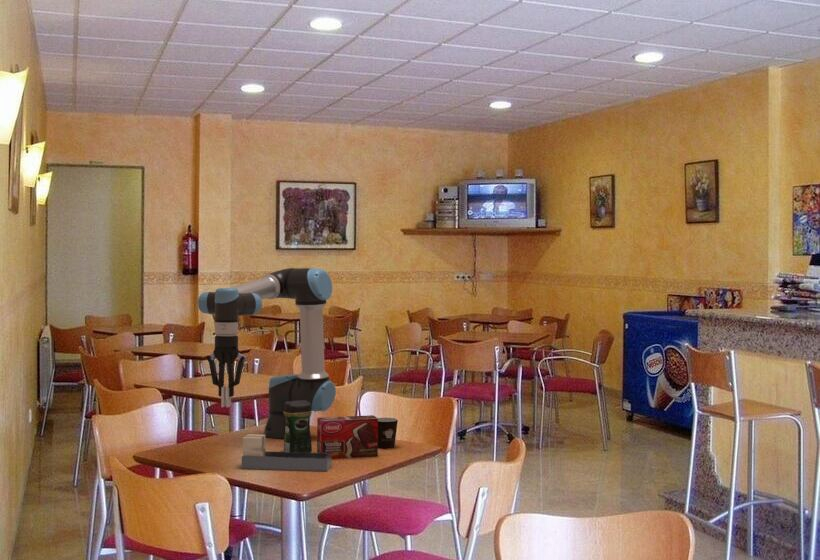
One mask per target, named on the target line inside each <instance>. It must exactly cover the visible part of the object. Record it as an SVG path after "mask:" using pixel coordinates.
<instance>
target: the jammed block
mask: <svg viewBox="0 0 820 560" xmlns="http://www.w3.org/2000/svg"><path fill="white" fill-rule="evenodd" d="M265 451H266V436H265V435H264V434H253V433H252V434H251V433H249V434H246V435H245V436H243V437H242V456H265Z"/></svg>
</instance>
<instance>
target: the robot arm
mask: <svg viewBox="0 0 820 560" xmlns="http://www.w3.org/2000/svg"><path fill="white" fill-rule="evenodd" d="M332 292H333V282H332V279H331V276H330V274H328V272H327V271H326V270H324V269H322V268H315V267H309V268H307V267H305V268H303V267H301V268H300V267H299V268H297V267H296V268H295V267H290V268H289V267H288V268H284V269H279V270H276V271H273V272H270V273H267V274H263V275H262V276H261V277H260V278H259V279H256V280H252V281H249V282H246V283H242V284H238V285H235V286H232V287H218V288H216V290H215V291H204V292H202V293H201V294H200V295H199V296H198V299H197V307H198V310H199V311H200V312H201V313H203V314H208V315H214V317H215V318H214V334H215V336H214V349H213V352H212V353H211V354H209V355H206V356H205V357H206V360H207V362H208V366H209V370H210V376H211V381H212V385H213V386H217V387H218V397H220V398H221V400H220V401H221V404H220V405H221V406H220V407H221V408H225V407H226V408H230V407H231V406H232V397H234V395H235V390H234V389H235V386H237V385H239V384H240V382H241V378H242V371H243V367H244V362H245V361H246V360H247V356H246V355H243V354H241V353H240V350H239V336H238V334H239V316H240V317H241V316H253V315H254V316H255V315H258V314H259V312H261V310H262V308H263V301H262V300H274V299H289V300H290V299H291V300H292V299H293V300H294V301H295V307H297V308H298V309H299V324H300V326H299V327H300V328H299V330H300V353H301V354H300V355H301V372H300V373H299V374H297V373H296V374H295V373H294V374H286V375H285V374H284V375H277V376H273V377H271V378H270V379H269V382H268V383H269V384H268V389H267V390H268V417H267V420H266V424H265V426H264V429H263V435H265V438H270V439H271V438H272V439H284V438H285V426H286V421H285V416H284V413H283V411H284V404H285V402H289V401H298V400H306V401H309V402H310V404H311V411H312V412H314V413H317V412H326V411H328V410H329V409H330V408H331V407H332V405H333V403H334V402H335V399H336V393H337V390H336V385H335V383H334V382H333V381H331V380H330V375H329V373H328V372H326V370H325V342H324V337H325V336H324V315H323V314H324V313H323V312H324V311H323V308H324V307H325V306H326V305H327V300H328V299H330V298H331V296H332ZM215 359H216V360H217V361H218V373H217V367H216V361H215ZM236 360H238V362H237V367H236V371H235V370H234V365H235V361H236ZM226 365H227V376H228V377H227V378H228V381H227V382H228V385H225V367H226Z"/></svg>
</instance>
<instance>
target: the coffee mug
mask: <svg viewBox="0 0 820 560" xmlns="http://www.w3.org/2000/svg"><path fill="white" fill-rule="evenodd" d="M377 418H378V449H382V448H383V449H382V450H384V449H385V450H389V449H388V448H390V449H393V448H395V445H396V438H397V428H398V420H399V419H398V418H395V417H377Z"/></svg>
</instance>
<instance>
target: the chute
mask: <svg viewBox="0 0 820 560" xmlns="http://www.w3.org/2000/svg"><path fill="white" fill-rule="evenodd" d="M332 462H333V459H332V453H317V452H311V453H309V452H284V451H273V450H272V451H266V450H265V456H243V455H242V456H241V470H270V471H300V472H301V471H304V472H305V471H307V472H309V471H310V472H312V471H313V472H328V471H329V470H330V468H331V467H332V464H333V463H332Z"/></svg>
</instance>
